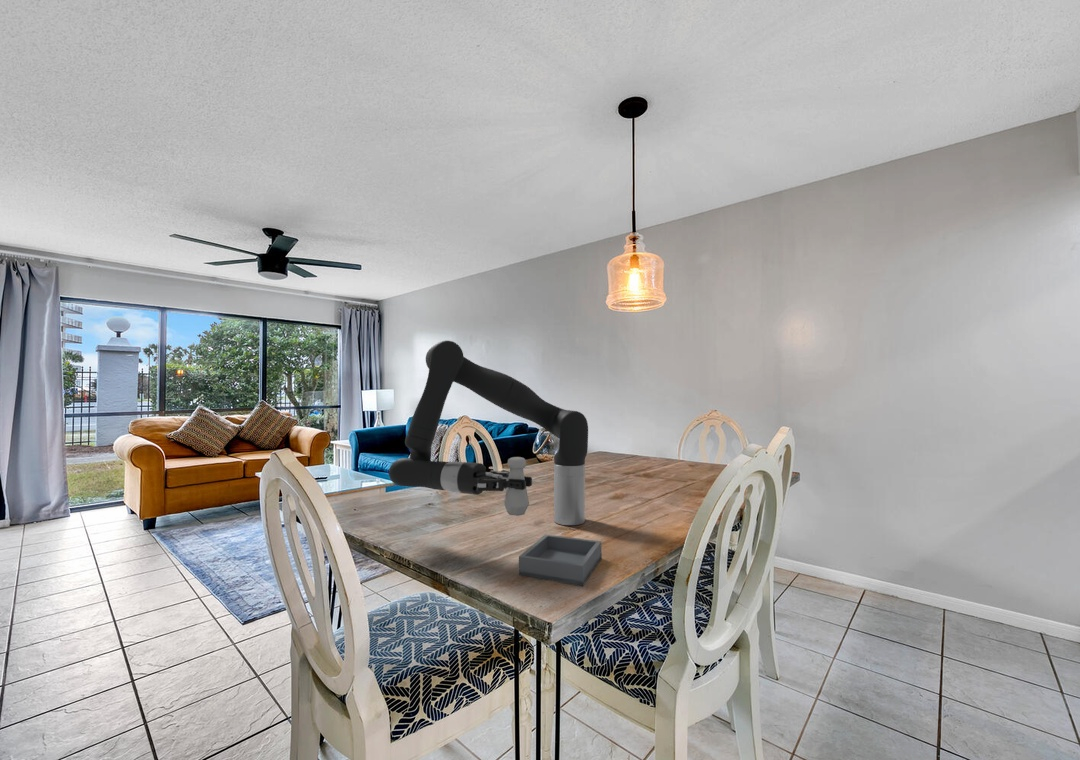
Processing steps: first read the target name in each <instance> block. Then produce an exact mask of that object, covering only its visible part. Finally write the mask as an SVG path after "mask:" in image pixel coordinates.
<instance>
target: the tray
mask: <svg viewBox="0 0 1080 760" xmlns="http://www.w3.org/2000/svg"><path fill="white" fill-rule="evenodd" d="M601 560H602V540H601V541H600V540H593V539H586V538H577V537H570V536H569V537H568V536H561V535H554V534H553V535H552V534H547V533H546V534H544V535H543V536H541V537H540V538H539V539H538V540H537V541H536V542H534V543H533V544H532V545H531V546H530V547H528V548H527V549H526V550H525V551H524V552H523V553H521V554H520V555H519V556H518V577H524V578H530V579H535V580H536V579H537V580H543V581H548V582H554V583H561V584H567V585H571V586H572V585H573V586H579V587H584V585H585V584H586V582H587V581H588V580H589V578H590V577H591V575H592V573H593V572H594V571H595V570H596V567H597V566H598V565H599V563H600V562H601Z"/></svg>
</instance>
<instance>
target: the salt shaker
mask: <svg viewBox="0 0 1080 760" xmlns="http://www.w3.org/2000/svg"><path fill="white" fill-rule="evenodd" d="M526 466H527V460H526V458H524V457H521V456H512V457H510V458H508V459H507V468H509V478H510V479H523V480H525V478H524V476H525V472H524V468H527V467H526ZM505 490H506V489H505ZM528 494H529V493H528V488H526V489H524V490H519V489H515V488H510V489H508V490H506V492H505V494H504V495H505V496H504V502H503V503H504V504H503V505H504V508H505V509H506V513H507V514H508V515H510V516H516V517H517V516H523V515H525V513H526V512H527V510H528V508H529V505H530V501H529V495H528Z"/></svg>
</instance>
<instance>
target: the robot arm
mask: <svg viewBox="0 0 1080 760" xmlns="http://www.w3.org/2000/svg"><path fill="white" fill-rule="evenodd" d="M425 363H426V366H427V368H428V374H427V379H426V383H425V386H424V390H423V392H422V394H421V397H420V399H419V401H418V404H417V406H416V408H415V410H414V413H413V416H412V418H411V420H410V423H409V426H408V430H407V433H406V436H405V439H404V444H405V447H407V448H408V449H409V450H410V454H409V458H407V457H402V458H399V459H396V460H395V461H394V462H392V463H391V465H390V466H389V468H388V476H389V479H390V481H391V482H392V483H393V484H394V485H396V486H399V487H410V488H427V489H432V490H438V491H447V492H450V493H456V494H457V493H459V494H464V495H465V494H466V495H475V496H478V495H481V494H482V493H483V492H503V491H504V490H508V489H510V488H515V489H519V490H524V489H527V487H528V488H529V487H530V488H531V486H532V485H533V477H532V476H525V475H524V478H525V480H523V479H510V478H509V472H510V470H509V471H508V470H504V469H502V470H501V471H498V470H493V469H492V470H490V471H488V470H487V467H486V466H485V465H484V464H483V463H481V462H479V463H478V462H468V461H441V460H438V461H436V460H434V461H431V459H432V446H433V442H434V441H435V440H434V439H435V436H436V434H437V433H436V432H437V430H438V428H439V427H438V426H439V424H440V421H441V416H442V413H443V410H444V406H445V404H446V400H447V398H448V395H449V393H450V391H451V387H452V385H453V383H456V384H458V385H460V386H463V387H465V388H467V389H469V390H470V391H472V392H473V393H475V394H476V395H478V396H480V397H481V398H483V399H485V400H487V401H488V402H490V403H492V404H493V405H495V406H496V407H498V408H501V409H502V410H505V411H507V412H508V413H511V414H512V415H515V416H518V417H519V418H523V419H524V420H528V421H530V422H532V423H535V424H536V425H538V426H539V427H541V428H543V429H544V430H546V431H547V432H549V433H550V434H551V435H553V437H556V438H557V439H559V440H558V441H559V444H558V445H559V447H558V450H557V452H556V453H555V454H554V457H553V459H554V460H553V461H554V462H553V463H554V464H553V468H554V469H553V470H554V471H553V473H554V477H553V478H554V479H553V480H554V481H553V484H554V485H553V487H554V488H553V506H554V507H553V512H554V513H553V521H554V523H556V524H559V525H561V526H562V525H563V526H579V525H582V524H584V523H586V515H585V514H586V513H585V512H586V510H585V509H586V475H585V473H586V457H587V455H588V446H589V445H588V444H589V424H588V420H587V417H586V416H585V415H584V414H583V413H582V412H580V411H577V410H572V409H571V410H570V409H564V408H560V407H558V406H556V405H553V404H551V403H550V402H547V401H545V400H544V399H543V398H542V397H540V396H539V395H538V394H537V393H536V392H535V391H534V390H533V389H532V388H530V387H528V386H527V385H526V384H524V383H523V382H521V381H520V380H517V379H516V378H514V377H512V376H511V375H508V374H505V373H504V372H503V373H502V372H500V371H498V370H494V369H491V368H488V367H484V366H481V365H479V364H477V363H475V362H473V361H471V360H470V359H468V358H466V357H465V356H464V352H463V350H462V348H461V346H460V345H459V344H458V343H456V342H455V341H453V340H442V341H439V342H437V343H435V344H434V345H433V346H431V348H429V349H428V351H427V352H426V354H425Z"/></svg>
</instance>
